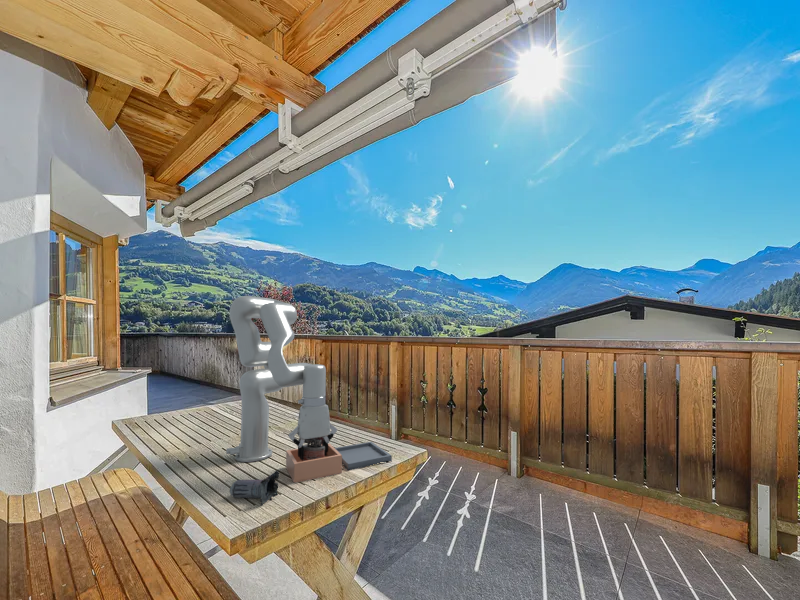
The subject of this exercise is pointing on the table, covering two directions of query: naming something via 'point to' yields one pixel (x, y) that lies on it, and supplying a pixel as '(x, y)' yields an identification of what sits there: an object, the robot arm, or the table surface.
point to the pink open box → (313, 465)
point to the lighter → (313, 449)
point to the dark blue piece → (256, 488)
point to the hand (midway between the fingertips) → (313, 456)
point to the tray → (362, 455)
